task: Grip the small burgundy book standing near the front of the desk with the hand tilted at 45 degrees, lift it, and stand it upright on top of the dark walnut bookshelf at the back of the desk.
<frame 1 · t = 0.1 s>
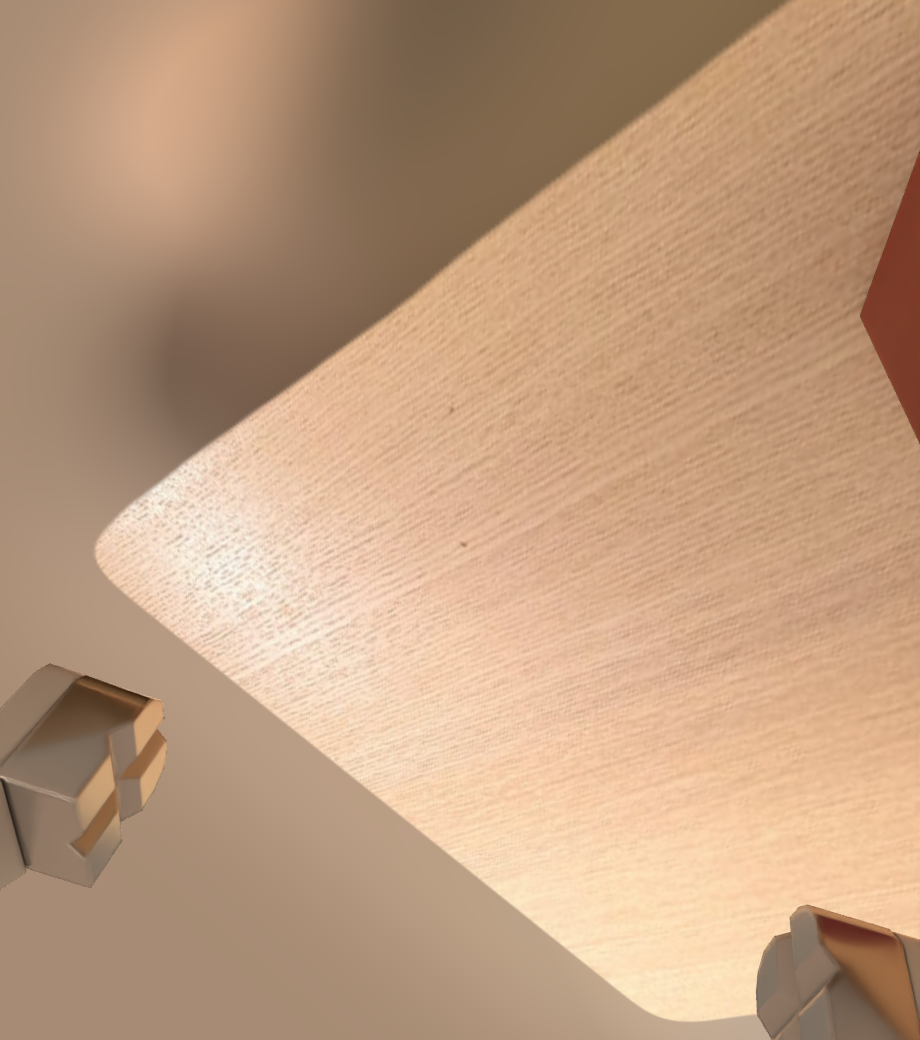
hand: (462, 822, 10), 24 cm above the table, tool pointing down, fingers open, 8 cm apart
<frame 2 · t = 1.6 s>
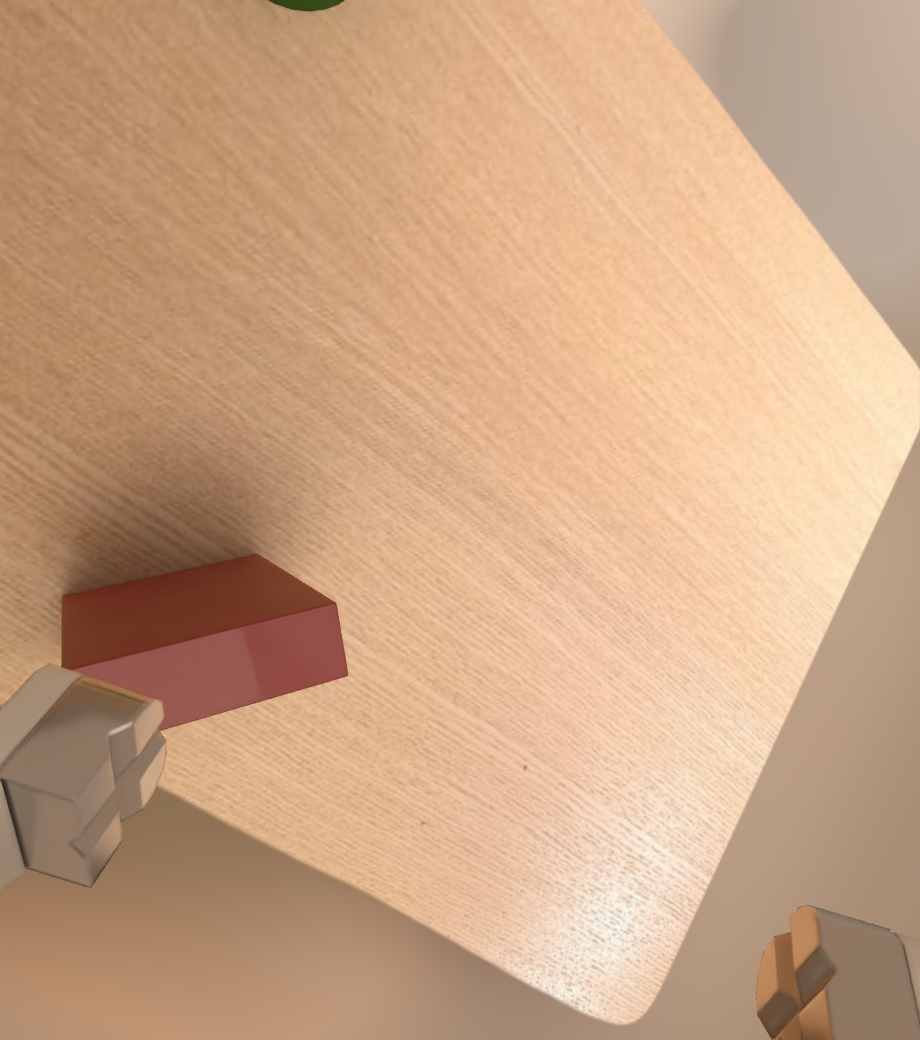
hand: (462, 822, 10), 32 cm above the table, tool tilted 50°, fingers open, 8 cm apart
book: (170, 602, 39), on the table
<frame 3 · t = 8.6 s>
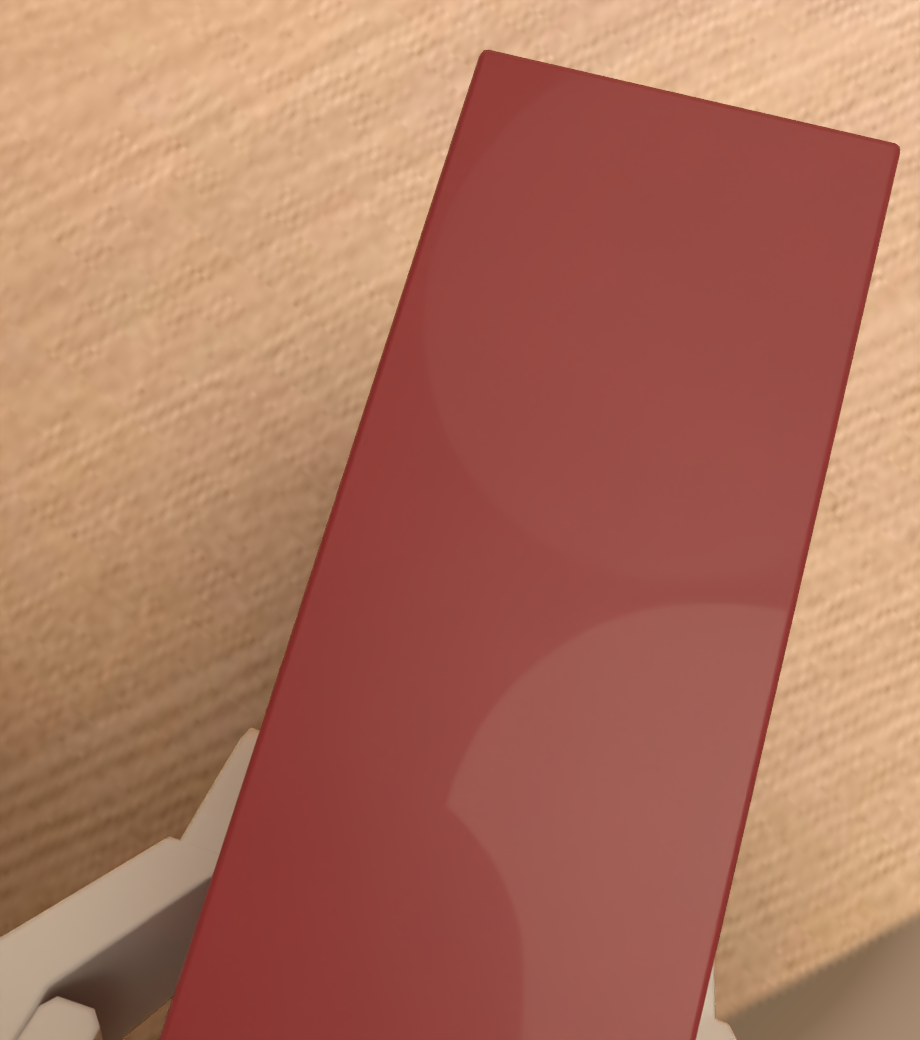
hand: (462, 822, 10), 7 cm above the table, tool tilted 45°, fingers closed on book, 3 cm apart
book: (495, 692, 17), on the table, touching gripper
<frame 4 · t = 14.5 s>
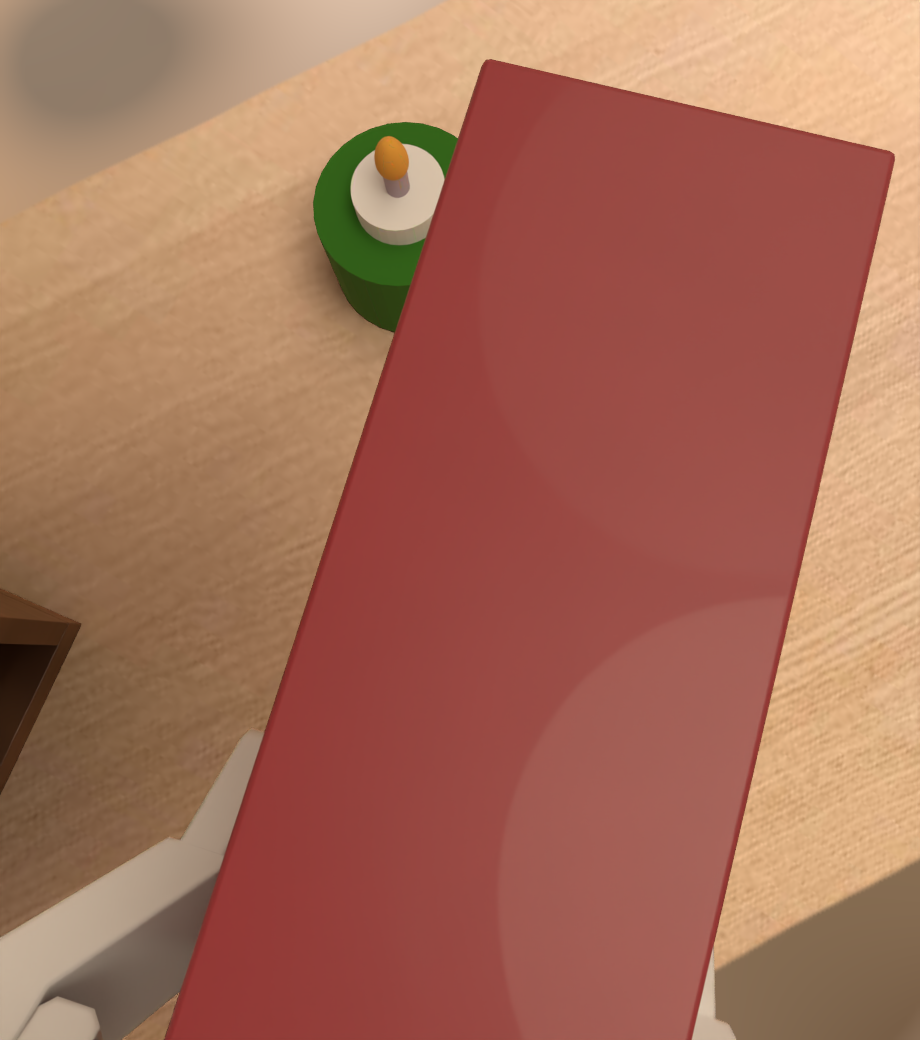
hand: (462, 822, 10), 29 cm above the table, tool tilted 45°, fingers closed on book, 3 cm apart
candle: (414, 261, 43), on the table
book: (497, 693, 17), point 22 cm above the table, touching gripper
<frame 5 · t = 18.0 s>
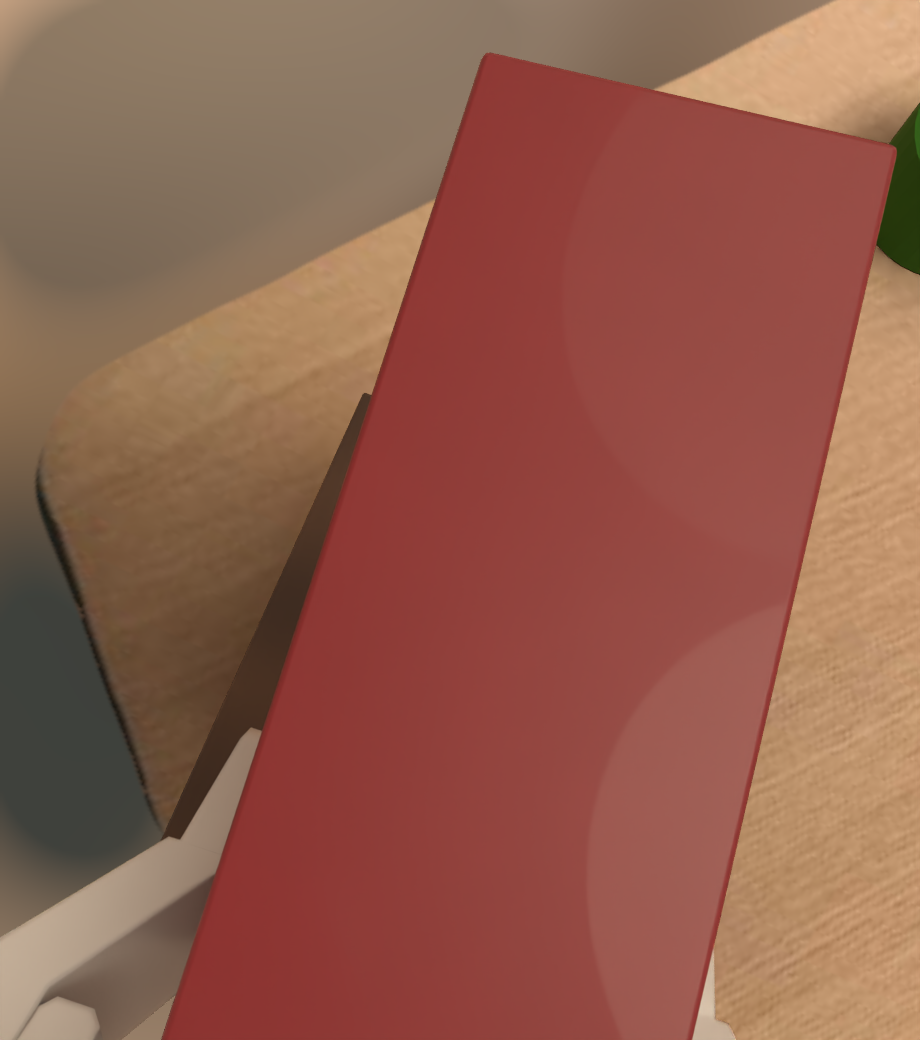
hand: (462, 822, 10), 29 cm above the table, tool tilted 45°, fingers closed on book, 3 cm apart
bookshelf: (457, 676, 39), on the table
book: (497, 691, 17), point 22 cm above the table, touching gripper
when the fingers open (21 cm above the table, at t = 20.8 s): book stays where it is, resting on bookshelf.
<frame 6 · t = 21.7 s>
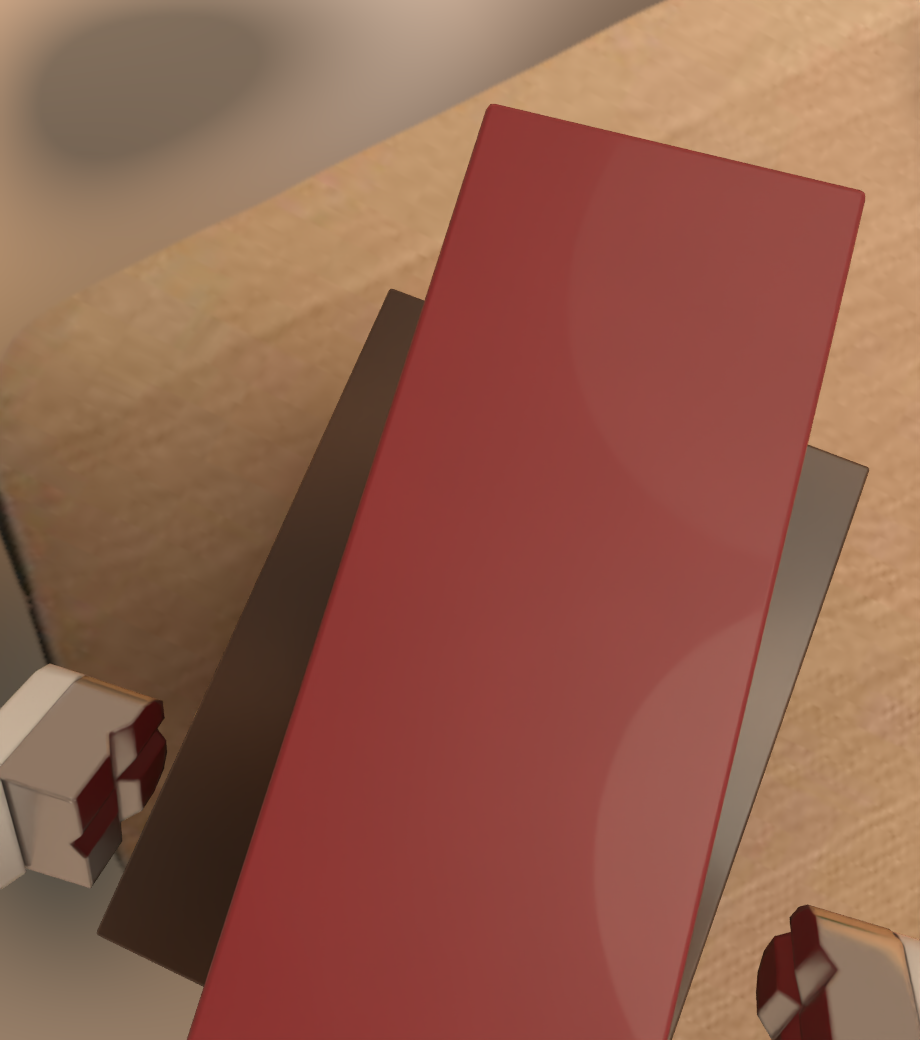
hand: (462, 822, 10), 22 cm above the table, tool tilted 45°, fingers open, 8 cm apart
bookshelf: (494, 680, 32), on the table
book: (497, 690, 18), point 14 cm above the table, touching bookshelf
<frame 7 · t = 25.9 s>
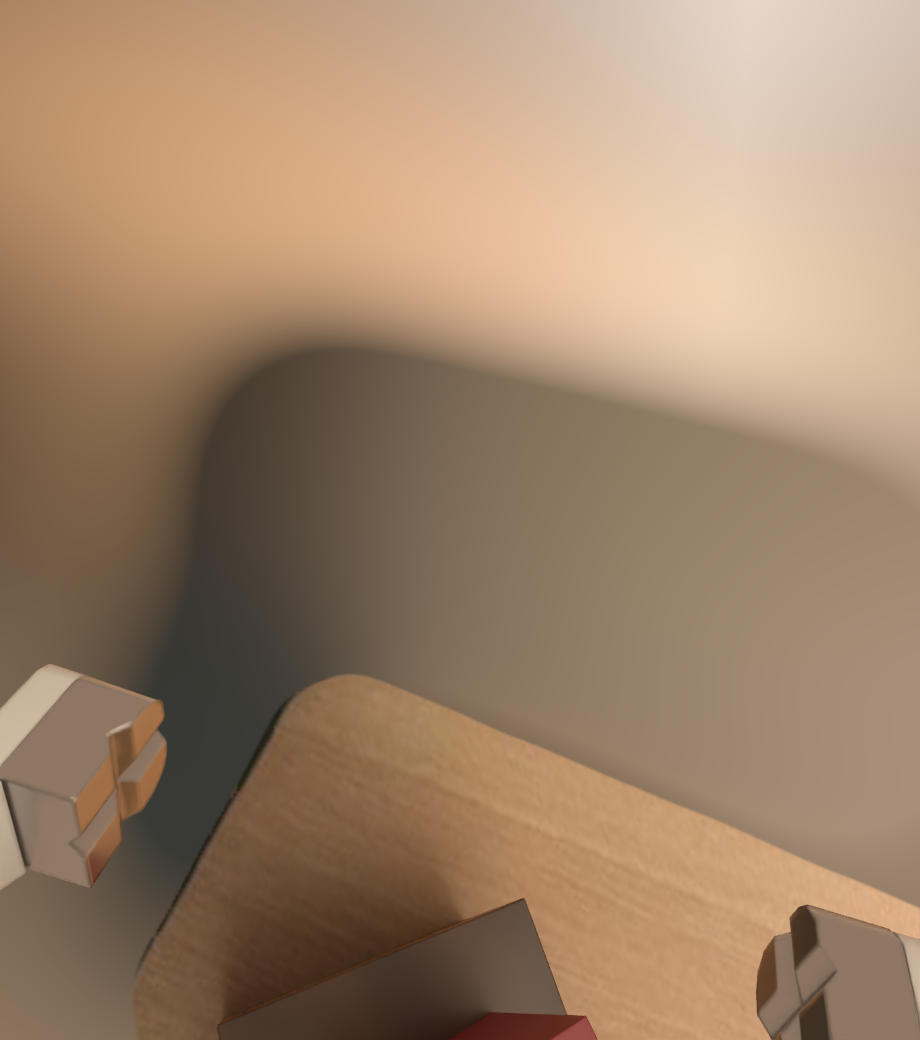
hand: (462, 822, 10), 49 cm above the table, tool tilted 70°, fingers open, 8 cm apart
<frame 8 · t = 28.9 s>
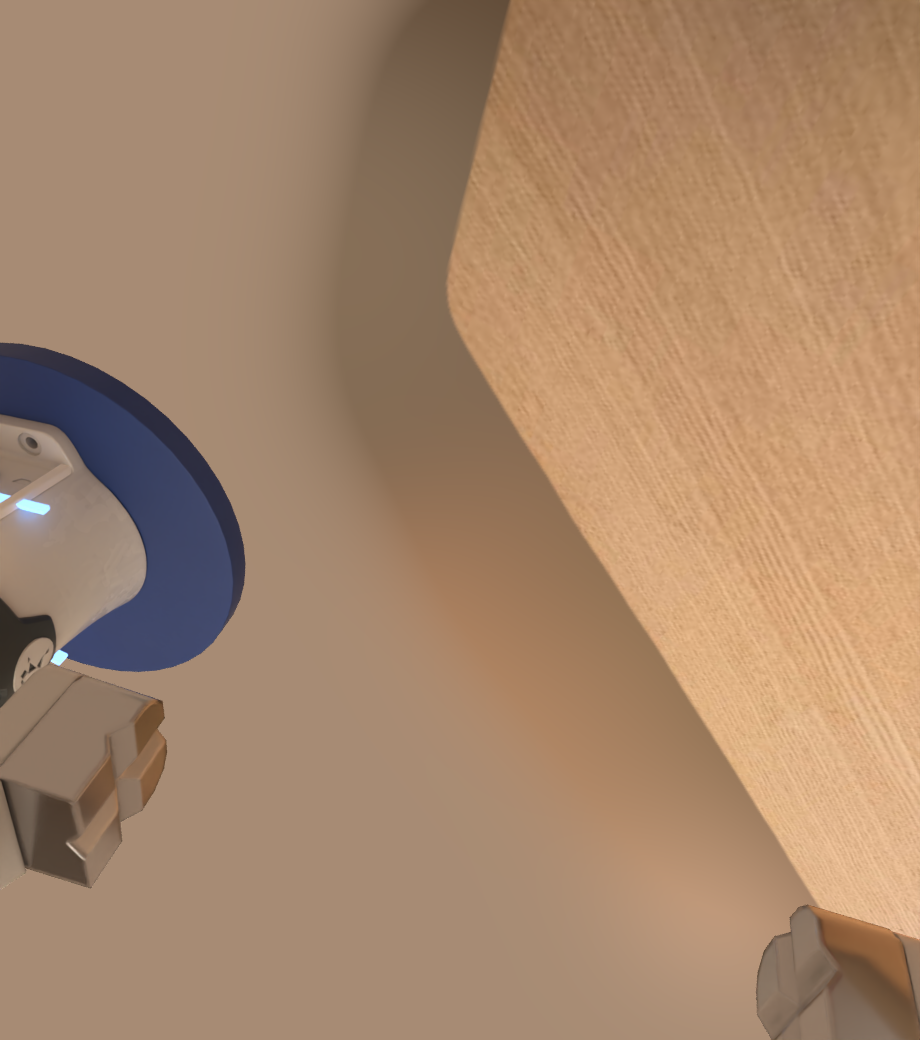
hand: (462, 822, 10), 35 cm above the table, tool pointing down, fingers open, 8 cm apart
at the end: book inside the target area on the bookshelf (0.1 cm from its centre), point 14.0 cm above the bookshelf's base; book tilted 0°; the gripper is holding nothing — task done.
